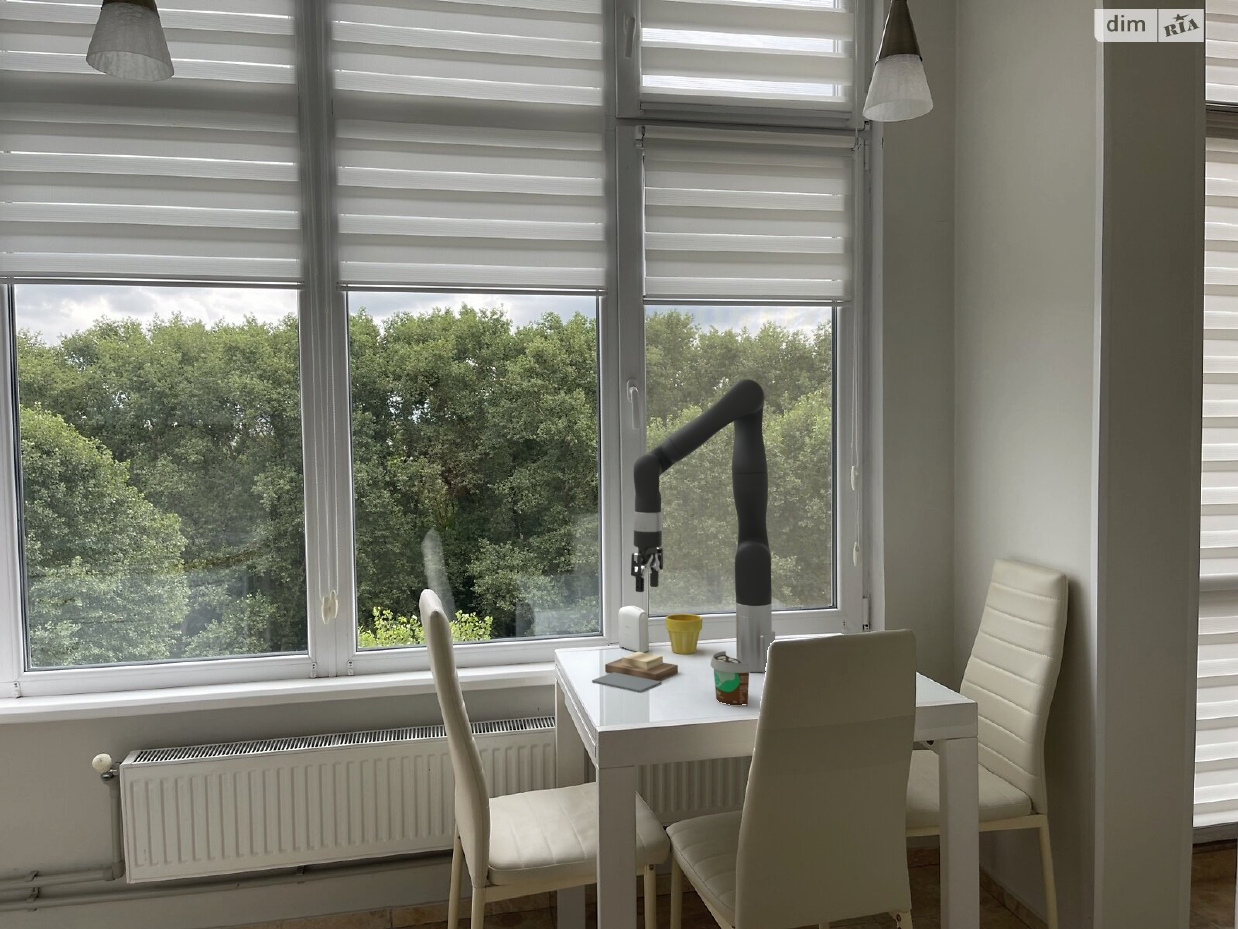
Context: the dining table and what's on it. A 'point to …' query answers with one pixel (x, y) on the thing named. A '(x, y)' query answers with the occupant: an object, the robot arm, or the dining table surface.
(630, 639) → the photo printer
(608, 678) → the mat
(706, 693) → the dining table surface
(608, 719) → the dining table surface
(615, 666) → the brown wooden block
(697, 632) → the plant pot
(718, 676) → the food container
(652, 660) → the cream flat block
